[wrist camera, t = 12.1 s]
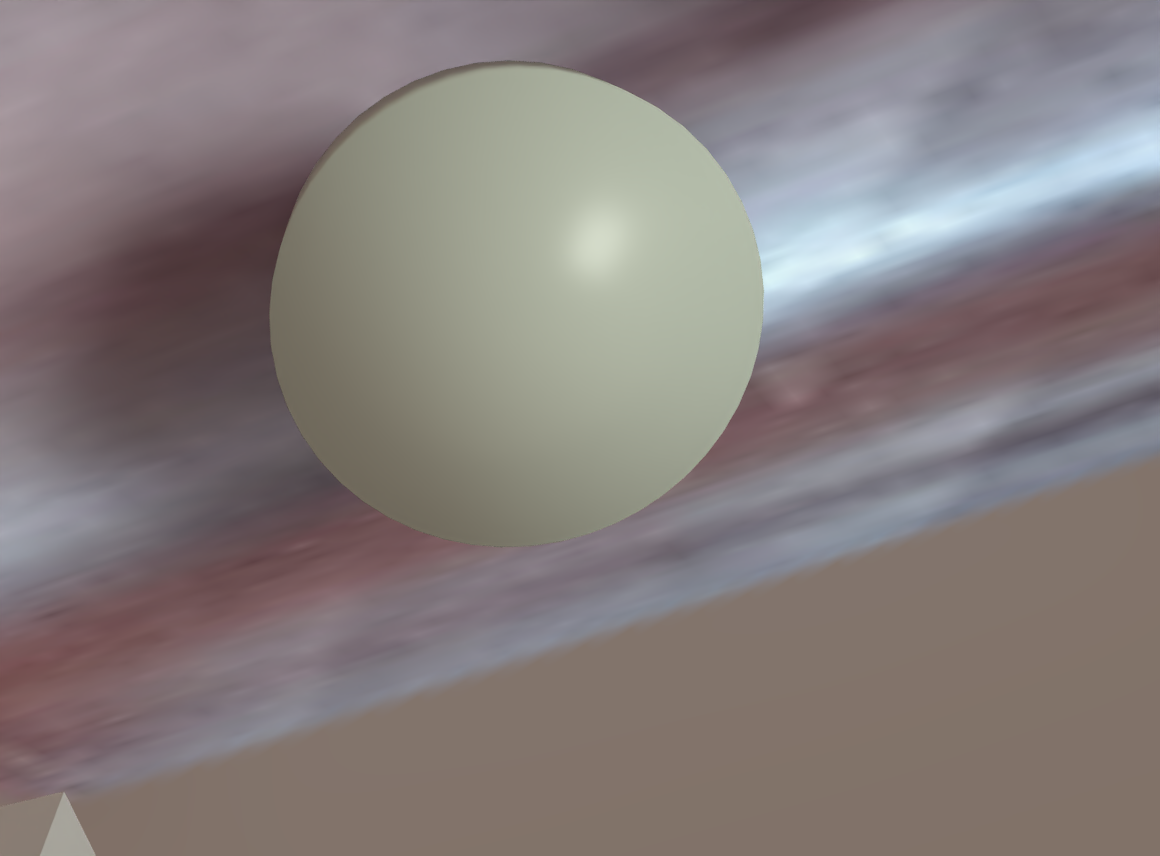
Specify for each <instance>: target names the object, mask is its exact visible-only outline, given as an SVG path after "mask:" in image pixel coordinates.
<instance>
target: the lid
mask: <svg viewBox="0 0 1160 856" xmlns="http://www.w3.org/2000/svg"><path fill="white" fill-rule="evenodd" d="M763 296H764V289H763V279H762V270H761V261H760V256H759V252H758V248H757V244H756V240H755V236H754V232H753V229H752V226H751V224H750V221H749V219H748V216H747V214H746V211H745V209H744V206H743V204H742V201H741V200H740V198H739V196H738V194H737V192H736V191H735V189H734V187H733V185H732V184H731V182H730V180H729V178H728V177H727V175H726V173H725V172H724V171H723V170H722V168H721V167H720V166H719V164H718V163H717V162H716V161H715V159H714V158H713V157H712V155H711V154H710V153H709V151H708V150H707V149H706V148H705V147H704V146H703V145H702V144H701V143H700V142H699V141H698V140H697V139H696V138H695V137H694V136H693V135H692V134H691V133H690V132H689V131H688V130H687V129H685V128H684V127H683V126H682V125H681V124H679V123H678V122H677V121H675V120H674V119H672V118H671V117H670V116H668V115H667V114H666V113H664V112H663V111H661V110H660V109H659V108H657V107H656V106H654V105H652V104H650V103H648V102H646V101H644V100H643V99H641V98H639V97H637V96H635V95H633V94H631V93H629V92H627V91H625V90H623V89H621V88H619V87H616V86H614V85H612V84H610V83H607V82H605V81H603V80H601V79H598V78H595V77H592V76H590V75H587V74H584V73H581V72H578V71H576V70H573V69H569V68H564V67H559V66H555V65H550V64H545V63H540V62H524V61H509V60H508V61H495V62H482V63H473V64H469V65H464V66H460V67H455V68H451V69H446V70H443V71H440V72H437V73H434V74H432V75H429V76H426V77H424V78H421V79H418V80H416V81H413V82H411V83H409V84H408V85H406V86H404V87H402V88H400V89H398V90H396V91H395V92H393V93H391V94H389V95H387V96H385V97H384V98H382V99H381V100H380V101H378V102H377V103H376V104H374V105H373V106H371V107H370V108H369V109H367V110H366V111H365V112H363V113H362V114H361V115H359V116H358V117H357V118H356V119H355V120H354V121H353V122H352V123H351V124H350V125H349V126H348V127H347V128H346V129H345V130H344V131H343V132H342V133H341V134H340V135H339V136H338V137H337V138H336V139H335V140H334V141H333V142H332V144H331V145H330V146H329V148H328V149H327V150H326V151H325V153H324V154H323V155H322V157H321V158H320V159H319V161H318V162H317V163H316V165H315V166H314V168H313V170H312V172H311V173H310V175H309V177H308V179H307V180H306V182H305V184H304V186H303V187H302V189H301V191H300V193H299V196H298V198H297V201H296V203H295V206H294V208H293V211H292V214H291V216H290V219H289V221H288V224H287V228H286V231H285V234H284V237H283V240H282V243H281V246H280V250H279V254H278V258H277V263H276V267H275V271H274V275H273V280H272V289H271V300H270V311H269V318H270V337H271V349H272V354H273V359H274V364H275V369H276V374H277V379H278V381H279V384H280V387H281V390H282V393H283V396H284V399H285V401H286V404H287V407H288V409H289V411H290V413H291V415H292V417H293V419H294V421H295V423H296V425H297V427H298V429H299V430H300V432H301V434H302V436H303V437H304V439H305V440H306V442H307V443H308V444H309V446H310V447H311V449H312V450H313V452H314V453H315V454H316V456H317V457H318V459H319V460H320V461H321V462H322V463H323V464H324V465H325V467H326V468H327V469H328V470H329V471H330V472H331V473H332V474H333V475H334V476H335V477H336V478H337V479H338V481H339V482H340V483H342V484H343V485H344V486H345V487H346V488H348V489H349V490H350V491H351V492H352V493H354V494H355V495H356V496H357V497H359V498H360V499H361V500H362V501H363V502H365V503H367V504H368V505H370V506H371V507H373V508H374V509H376V510H378V511H379V512H381V513H382V514H384V515H386V516H387V517H389V518H391V519H393V520H395V521H397V522H400V523H402V524H404V525H406V526H408V527H410V528H412V529H414V530H417V531H420V532H423V533H426V534H429V535H433V536H436V537H439V538H442V539H446V540H451V541H456V542H461V543H466V544H471V545H482V546H494V547H518V546H534V545H541V544H548V543H554V542H560V541H564V540H568V539H572V538H575V537H579V536H583V535H587V534H589V533H592V532H595V531H597V530H600V529H602V528H605V527H607V526H610V525H613V524H615V523H617V522H619V521H621V520H623V519H625V518H627V517H628V516H630V515H632V514H634V513H636V512H638V511H640V510H642V509H643V508H645V507H646V506H647V505H649V504H650V503H652V502H653V501H655V500H656V499H658V498H659V497H661V496H662V495H664V494H665V493H666V492H668V491H669V490H670V489H671V488H672V487H673V486H675V485H676V484H677V483H678V482H679V481H680V480H682V479H683V478H684V477H685V476H686V475H687V474H688V473H689V472H690V471H691V470H692V469H693V468H694V467H695V466H696V465H697V464H698V463H699V462H700V460H701V459H702V458H703V457H704V456H705V455H706V454H707V453H708V451H709V450H710V449H711V447H712V446H713V445H714V443H715V442H716V441H717V439H718V438H719V437H720V435H721V434H722V433H723V431H724V430H725V428H726V426H727V424H728V423H729V421H730V419H731V418H732V416H733V414H734V412H735V411H736V409H737V407H738V405H739V403H740V401H741V398H742V396H743V394H744V391H745V389H746V387H747V384H748V382H749V380H750V377H751V373H752V370H753V366H754V363H755V359H756V356H757V352H758V349H759V342H760V336H761V329H762V323H763Z"/></svg>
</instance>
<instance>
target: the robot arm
mask: <svg viewBox="0 0 1160 856" xmlns="http://www.w3.org/2000/svg"><path fill="white" fill-rule="evenodd" d="M0 856H96V855H95V853H94V851H93V849H92V847H91V845H90V843H89V841H88V839H87V837H86V835H85V833H84V831H83V829H82V827H81V825H80V823H79V821H78V819H77V817H76V815H75V813H74V811H73V808H72V806H71V804H70V802H69V800H68V798H67V796H66V794H65V792H60V793H56V794H52V795H47V796H43V797H39V798H35V799H30V800H26V801H22V802H18V803H14V804H9V805H5V806H1V807H0Z"/></svg>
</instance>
